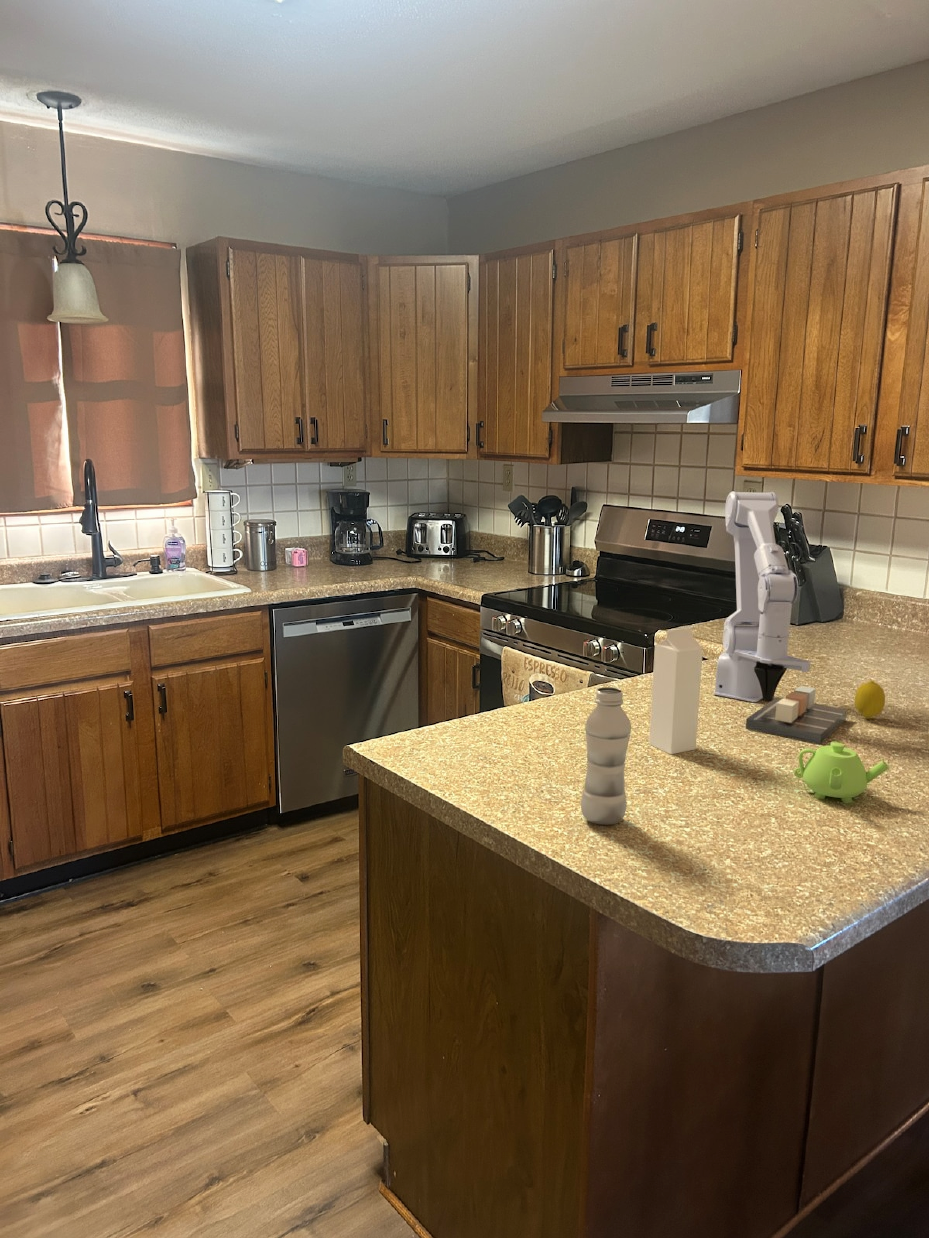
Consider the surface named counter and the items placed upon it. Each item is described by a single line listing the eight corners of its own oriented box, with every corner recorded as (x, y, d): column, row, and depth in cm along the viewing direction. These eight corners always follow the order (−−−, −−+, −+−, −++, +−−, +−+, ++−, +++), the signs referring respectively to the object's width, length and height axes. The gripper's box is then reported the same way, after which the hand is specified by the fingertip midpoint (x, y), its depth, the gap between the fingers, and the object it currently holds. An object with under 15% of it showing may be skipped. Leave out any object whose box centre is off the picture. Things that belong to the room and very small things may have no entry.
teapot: (780, 786, 147) (784, 736, 146) (833, 776, 152) (838, 728, 150) (832, 813, 137) (837, 760, 136) (888, 802, 142) (894, 750, 140)
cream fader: (775, 719, 173) (776, 703, 172) (781, 714, 176) (783, 698, 175) (791, 722, 171) (792, 706, 171) (797, 717, 174) (799, 701, 174)
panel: (745, 728, 175) (746, 718, 175) (775, 706, 189) (776, 697, 189) (820, 744, 167) (821, 733, 167) (845, 720, 181) (846, 710, 181)
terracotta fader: (784, 712, 177) (785, 696, 177) (790, 707, 180) (792, 691, 180) (799, 715, 176) (801, 699, 175) (805, 710, 179) (807, 694, 178)
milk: (695, 749, 164) (705, 631, 159) (670, 755, 161) (679, 634, 156) (672, 739, 169) (681, 623, 164) (647, 744, 166) (655, 627, 161)
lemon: (885, 724, 179) (890, 685, 177) (855, 722, 180) (860, 683, 178) (879, 715, 184) (883, 678, 183) (850, 713, 185) (854, 676, 184)
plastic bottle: (575, 812, 136) (581, 684, 132) (619, 811, 137) (626, 683, 133) (584, 830, 130) (591, 697, 126) (631, 829, 131) (638, 696, 126)
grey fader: (792, 705, 182) (794, 690, 181) (798, 701, 185) (800, 685, 184) (808, 708, 180) (809, 692, 179) (814, 704, 183) (815, 688, 182)
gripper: (730, 632, 179) (725, 698, 182) (805, 643, 171) (798, 712, 174) (742, 626, 185) (737, 690, 188) (816, 637, 176) (809, 703, 179)
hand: (767, 700), depth 181 cm, fingers closed
